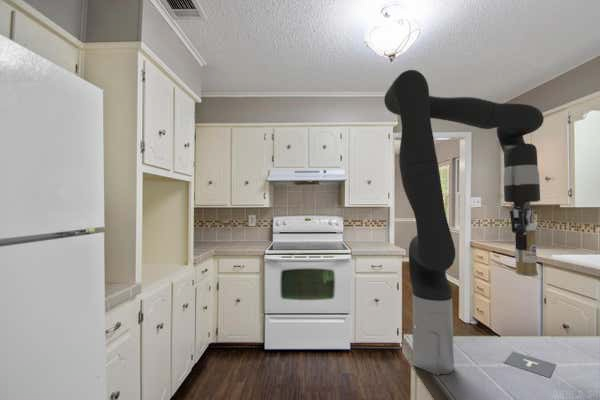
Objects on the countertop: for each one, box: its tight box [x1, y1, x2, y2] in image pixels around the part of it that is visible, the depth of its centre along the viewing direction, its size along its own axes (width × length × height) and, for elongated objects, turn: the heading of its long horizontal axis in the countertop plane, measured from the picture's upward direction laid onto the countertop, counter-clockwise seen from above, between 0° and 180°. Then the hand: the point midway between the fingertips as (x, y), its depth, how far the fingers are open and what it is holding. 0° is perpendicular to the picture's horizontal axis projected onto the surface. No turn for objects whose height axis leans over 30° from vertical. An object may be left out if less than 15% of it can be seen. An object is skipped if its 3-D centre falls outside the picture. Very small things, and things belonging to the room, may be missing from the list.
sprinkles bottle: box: [514, 222, 538, 277], centre depth 74 cm, size 5×5×14 cm
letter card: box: [503, 351, 557, 379], centre depth 73 cm, size 9×9×1 cm
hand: (523, 248), depth 74 cm, fingers closed on sprinkles bottle, 4 cm apart
